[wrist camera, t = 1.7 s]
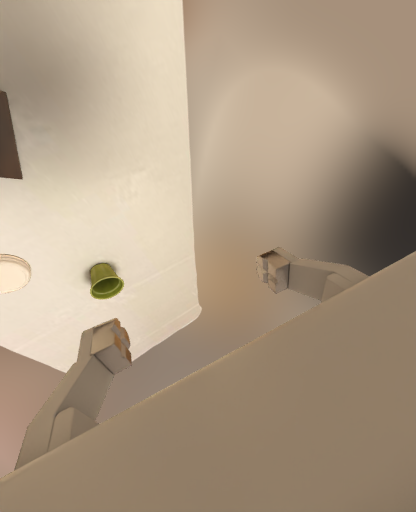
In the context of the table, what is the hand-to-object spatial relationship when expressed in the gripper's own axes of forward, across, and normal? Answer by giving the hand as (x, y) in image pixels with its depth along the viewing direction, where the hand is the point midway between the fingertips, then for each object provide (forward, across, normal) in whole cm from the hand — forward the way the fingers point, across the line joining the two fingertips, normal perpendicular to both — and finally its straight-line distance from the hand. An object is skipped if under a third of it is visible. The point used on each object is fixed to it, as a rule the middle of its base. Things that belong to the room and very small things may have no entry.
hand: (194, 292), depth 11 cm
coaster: (+48, +37, +13) cm, 62 cm away
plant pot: (+54, +20, +25) cm, 63 cm away
